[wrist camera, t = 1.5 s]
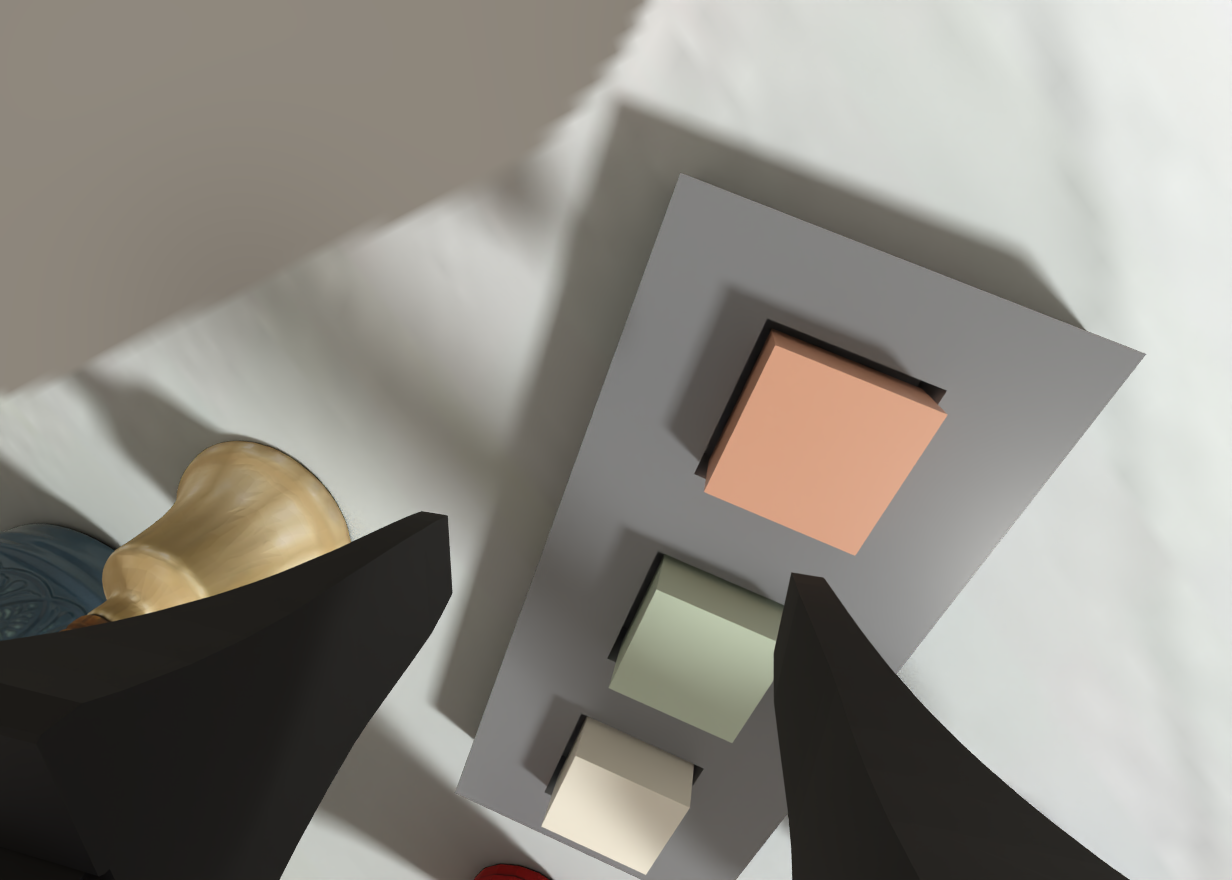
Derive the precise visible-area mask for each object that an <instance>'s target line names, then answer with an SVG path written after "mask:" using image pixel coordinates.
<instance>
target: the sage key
mask: <svg viewBox="0 0 1232 880" xmlns="http://www.w3.org/2000/svg"><path fill="white" fill-rule="evenodd" d="M783 608H784V605H782V604H780V603H778V602H775V601H773V600H771V599H768V598H766V597H764V596H761V595H759V594H757V593H754V592H752V591H750V590H747V589H745V588H743V587H740V586H738V585H736V584H733V583H731V582H729V581H726V580H724V579H722V578H719V577H717V576H715V575H712V574H710V573H708V572H705V571H703V570H701V569H699V568H696V567H694V566H692V565H689V564H687V563H685V562H682V561H680V560H678V559H675V558H673V557H671V556H668V555H666V554H664V555H663V557H662V559H661V561H660V563H659V566H658V568H657V570H656V572H655V574H654V576H653V578H652V580H651V582H650V584H649V587H648V589H647V591H646V593H645V595H644V597H643V599H642V601H641V603H640V605H639V607H638V610H637V612H636V614H635V616H634V618H633V620H632V622H631V624H630V626H629V628H628V631H627V633H626V635H625V637H624V639H623V641H622V643H621V647H620V650H619V654H618V657H617V661H616V664H615V667H614V671H613V674H612V678H611V681H610V685H609V688H610V689H612V690H614V691H616V692H619V693H621V694H623V695H625V696H628V697H630V698H632V699H634V700H636V701H639V702H641V703H643V704H645V705H648V706H650V707H652V708H654V709H657V710H659V711H661V712H663V713H666V714H668V715H670V716H672V717H675V718H677V719H679V720H681V721H684V722H686V723H688V724H690V725H693V726H695V727H697V728H699V729H701V730H704V731H706V732H708V733H710V734H713V735H715V736H717V737H719V738H722V739H724V740H726V741H728V742H731V743H733V741H734V740H735V738H736V737H737V735H738V734H739V732H740V731H741V729H742V728H743V726H744V725H745V723H746V722H747V720H748V718H749V717H750V715H751V714H752V712H753V711H754V709H755V708H756V706H757V705H758V703H759V702H760V700H761V699H762V697H763V696H764V694H765V693H766V691H767V690H768V688H769V686H770V685H771V683H772V682H773V680H774V649H775V644H776V640H777V635H778V631H779V626H780V622H781V617H782V613H783Z"/></svg>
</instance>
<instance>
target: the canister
mask: <svg viewBox="0 0 1232 880" xmlns="http://www.w3.org/2000/svg"><path fill="white" fill-rule="evenodd" d="M114 551H115V550H113V549H112V548H110V547H108V546H107V545H105V544H103V543H101V542H100V541H98V540H96V539H94V538H92V537H90V536H87V535H85V534H83V533H80V532H77V531H75V530H72V529H68V528H65V527H61V526H56V525H50V524H27V525H22V526H18V527H15V528H13V529H10V530H7V531H1V532H0V641H3V640H10V639H16V638H23V637H29V636H36V635H42V634H48V633H55V632H59V631H61V630H63V629H66V628H67V626H68V625H69V624H71V623H72V622H73V621H75V620H76V619H78V618H79V617H81V616H85V615H87V614H88V613H89V612H91V611H92V610H93V609H95V608H97V607H98V606H100V605H101V604H103V603H104V602H106V601H107V599H106V596H105V593H104V589H103V583H102V575H103V569H104V566H105V564H106V562H107V560H108V558H109V557H110V555H111V554H112V553H113V552H114Z"/></svg>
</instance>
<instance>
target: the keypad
mask: <svg viewBox="0 0 1232 880" xmlns="http://www.w3.org/2000/svg"><path fill="white" fill-rule="evenodd" d="M771 329H775V330H777V331H780V332H782V333H785V334H787V335H790V336H792V337H795V338H797V339H799V340H802V341H804V342H807V343H809V344H812V345H814V346H817V347H819V348H822V349H824V350H827V351H829V352H832V353H834V354H837V355H839V356H842V357H844V358H847V359H849V360H852V361H854V362H857V363H859V364H862V365H864V366H867V367H869V368H872V369H874V370H877V371H879V372H882V373H884V374H887V375H889V376H891V377H894V378H896V379H899V380H901V381H904V382H906V383H909V384H911V385H914V386H916V387H919V388H921V389H923V390H924V391H925V392H926V393H927V394H928V395H929V396H930V397H931V398H932V399H933V400H934V401H935V402H936V403H937V404H938V405H939V406H940V407H941V408H942V409H943V410H944V411H945V412H946V413H947V414H948V415H947V417H946V418H945V420H944V421H943V423H942V424H941V426H940V427H939V429H938V430H937V432H936V433H935V435H934V436H933V438H932V440H931V441H930V443H929V444H928V446H927V447H926V449H925V450H924V452H923V453H922V455H921V456H920V458H919V459H918V461H917V462H916V464H915V465H914V467H913V468H912V470H911V472H910V473H909V475H908V476H907V478H906V479H905V481H904V482H903V484H902V485H901V487H900V488H899V490H898V491H897V493H896V494H895V496H894V497H893V499H892V501H891V502H890V504H889V505H888V507H887V508H886V510H885V511H884V513H883V514H882V516H881V517H880V519H879V520H878V522H877V523H876V525H875V526H874V528H873V529H872V531H871V533H870V534H869V536H868V537H867V539H866V540H865V542H864V543H863V545H862V546H861V548H860V549H859V551H858V552H857V554H856V555H855V556H854V555H852V554H850V553H847V552H845V551H842V550H840V549H838V548H835V547H833V546H831V545H828V544H826V543H823V542H821V541H819V540H816V539H814V538H812V537H809V536H807V535H804V534H802V533H800V532H797V531H795V530H793V529H790V528H788V527H785V526H783V525H781V524H778V523H776V522H774V521H771V520H769V519H767V518H764V517H762V516H759V515H757V514H755V513H752V512H750V511H748V510H745V509H743V508H740V507H738V506H736V505H733V504H731V503H729V502H726V501H724V500H721V499H719V498H717V497H714V496H712V495H710V494H707V493H705V492H704V488H705V481H706V475H707V468H708V461H709V459H710V457H711V455H712V452H713V450H714V448H715V446H716V444H717V442H718V440H719V438H720V436H721V434H722V432H723V429H724V427H725V425H726V423H727V421H728V419H729V417H730V415H731V413H732V411H733V408H734V406H735V404H736V402H737V400H738V398H739V396H740V394H741V392H742V390H743V388H744V385H745V383H746V381H747V379H748V377H749V375H750V373H751V371H752V369H753V367H754V364H755V362H756V360H757V358H758V356H759V354H760V352H761V350H762V348H763V346H764V344H765V341H766V339H767V337H768V335H769V333H770V331H771ZM1145 355H1146V354H1145V353H1142V352H1139V351H1137V350H1134V349H1132V348H1129V347H1127V346H1124V345H1122V344H1119V343H1116V342H1114V341H1111V340H1109V339H1106V338H1104V337H1101V336H1098V335H1096V334H1093V333H1091V332H1088V331H1086V330H1083V329H1081V328H1078V327H1075V326H1073V325H1070V324H1068V323H1065V322H1063V321H1060V320H1057V319H1055V318H1052V317H1050V316H1047V315H1045V314H1042V313H1039V312H1037V311H1034V310H1032V309H1029V308H1027V307H1024V306H1022V305H1019V304H1016V303H1014V302H1011V301H1009V300H1006V299H1004V298H1001V297H998V296H996V295H993V294H991V293H988V292H986V291H983V290H980V289H978V288H975V287H973V286H970V285H968V284H965V283H963V282H960V281H957V280H955V279H952V278H950V277H947V276H945V275H942V274H939V273H937V272H934V271H932V270H929V269H927V268H924V267H922V266H919V265H916V264H914V263H911V262H909V261H906V260H904V259H901V258H898V257H896V256H893V255H891V254H888V253H886V252H883V251H880V250H878V249H875V248H873V247H870V246H868V245H865V244H863V243H860V242H857V241H855V240H852V239H850V238H847V237H845V236H842V235H839V234H837V233H834V232H832V231H829V230H827V229H824V228H821V227H819V226H816V225H814V224H811V223H809V222H806V221H804V220H801V219H798V218H796V217H793V216H791V215H788V214H786V213H783V212H780V211H778V210H775V209H773V208H770V207H768V206H765V205H763V204H760V203H757V202H755V201H752V200H750V199H747V198H745V197H742V196H739V195H737V194H734V193H732V192H729V191H727V190H724V189H721V188H719V187H716V186H714V185H711V184H709V183H706V182H704V181H701V180H698V179H696V178H693V177H691V176H688V175H686V174H683V173H680V175H679V178H678V180H677V183H676V186H675V189H674V191H673V194H672V197H671V200H670V202H669V205H668V208H667V211H666V213H665V216H664V219H663V222H662V224H661V227H660V230H659V233H658V235H657V238H656V241H655V244H654V246H653V249H652V252H651V255H650V257H649V260H648V263H647V266H646V268H645V271H644V274H643V277H642V279H641V282H640V285H639V288H638V290H637V293H636V296H635V299H634V301H633V304H632V307H631V310H630V312H629V315H628V318H627V321H626V323H625V326H624V329H623V332H622V334H621V337H620V340H619V343H618V345H617V348H616V351H615V354H614V356H613V359H612V362H611V365H610V367H609V370H608V373H607V376H606V378H605V381H604V384H603V387H602V389H601V392H600V395H599V398H598V400H597V403H596V406H595V409H594V411H593V414H592V417H591V420H590V422H589V425H588V428H587V431H586V433H585V436H584V439H583V442H582V444H581V447H580V450H579V453H578V455H577V458H576V461H575V464H574V466H573V469H572V472H571V475H570V477H569V480H568V483H567V486H566V488H565V491H564V494H563V497H562V499H561V502H560V505H559V508H558V510H557V513H556V516H555V519H554V521H553V524H552V527H551V530H550V532H549V535H548V538H547V541H546V543H545V546H544V549H543V552H542V554H541V557H540V560H539V563H538V565H537V568H536V571H535V574H534V576H533V579H532V582H531V585H530V587H529V590H528V593H527V596H526V598H525V601H524V604H523V607H522V609H521V612H520V615H519V618H518V620H517V623H516V626H515V629H514V631H513V634H512V637H511V640H510V642H509V645H508V648H507V651H506V653H505V656H504V659H503V662H502V664H501V667H500V670H499V673H498V675H497V678H496V681H495V684H494V686H493V689H492V692H491V695H490V697H489V700H488V703H487V706H486V708H485V711H484V714H483V717H482V719H481V722H480V725H479V728H478V730H477V733H476V736H475V739H474V741H473V744H472V747H471V750H470V752H469V755H468V758H467V761H466V763H465V766H464V769H463V772H462V774H461V777H460V780H459V783H458V785H457V788H456V791H455V793H456V794H458V795H460V796H462V797H465V798H467V799H469V800H471V801H473V802H475V803H478V804H480V805H482V806H484V807H486V808H488V809H490V810H493V811H495V812H497V813H499V814H501V815H503V816H506V817H508V818H510V819H512V820H514V821H516V822H518V823H521V824H523V825H525V826H527V827H529V828H531V829H534V830H536V831H538V832H540V833H542V834H544V835H546V836H549V837H551V838H553V839H555V840H557V841H559V842H562V843H564V844H566V845H568V846H570V847H572V848H574V849H577V850H579V851H581V852H583V853H585V854H587V855H589V856H592V857H594V858H596V859H598V860H600V861H602V862H605V863H607V864H609V865H611V866H613V867H615V868H617V869H620V870H622V871H624V872H626V873H628V874H630V875H633V876H635V877H637V878H639V879H641V880H736V879H737V878H738V876H739V875H740V874H741V873H742V871H743V870H744V869H745V867H746V866H747V865H748V864H749V862H750V861H751V860H752V858H753V857H754V856H755V855H756V853H757V852H758V851H759V850H760V848H761V847H762V846H763V844H764V843H765V842H766V841H767V839H768V838H769V837H770V835H771V834H772V833H773V832H774V830H775V829H776V828H777V826H778V825H779V824H780V823H781V821H782V820H783V819H784V817H785V816H786V815H787V814H788V809H787V802H786V794H785V786H784V779H783V771H782V763H781V756H780V748H779V740H778V732H777V724H776V716H775V708H774V680H773V682H772V683H771V685H770V686H769V688H768V690H767V691H766V693H765V694H764V696H763V697H762V699H761V700H760V702H759V703H758V705H757V706H756V708H755V709H754V711H753V712H752V714H751V715H750V717H749V718H748V720H747V722H746V723H745V725H744V726H743V728H742V729H741V731H740V732H739V734H738V735H737V737H736V738H735V740H734V741H733V743H731V742H728V741H726V740H724V739H722V738H719V737H717V736H715V735H713V734H710V733H708V732H706V731H704V730H701V729H699V728H697V727H695V726H693V725H690V724H688V723H686V722H684V721H681V720H679V719H677V718H675V717H672V716H670V715H668V714H666V713H663V712H661V711H659V710H657V709H654V708H652V707H650V706H648V705H645V704H643V703H641V702H639V701H636V700H634V699H632V698H630V697H628V696H625V695H623V694H621V693H619V692H616V691H614V690H612V689H610V688H609V685H610V681H611V678H612V674H613V671H614V667H615V664H616V661H617V657H618V654H619V650H620V647H621V643H622V641H623V639H624V637H625V635H626V633H627V631H628V628H629V626H630V624H631V622H632V620H633V618H634V616H635V614H636V612H637V610H638V607H639V605H640V603H641V601H642V599H643V597H644V595H645V593H646V591H647V589H648V587H649V584H650V582H651V580H652V578H653V576H654V574H655V572H656V570H657V568H658V566H659V563H660V561H661V559H662V557H663V555H664V554H666V555H668V556H671V557H673V558H675V559H678V560H680V561H682V562H685V563H687V564H689V565H692V566H694V567H696V568H699V569H701V570H703V571H705V572H708V573H710V574H712V575H715V576H717V577H719V578H722V579H724V580H726V581H729V582H731V583H733V584H736V585H738V586H740V587H743V588H745V589H747V590H750V591H752V592H754V593H757V594H759V595H761V596H764V597H766V598H768V599H771V600H773V601H775V602H778V603H780V604H782V605H784V603H785V599H786V594H787V590H788V585H789V581H790V576H791V572H793V573H799V574H805V575H811V576H817V577H824V579H825V580H826V581H827V583H828V584H829V585H830V587H831V588H832V590H833V591H834V592H835V594H836V595H837V597H838V598H839V600H840V601H841V602H842V604H843V605H844V607H845V608H846V610H847V611H848V612H849V614H850V615H851V617H852V618H853V619H854V621H855V622H856V624H857V625H858V626H859V628H860V629H861V630H862V632H863V633H864V634H865V636H866V637H867V638H868V640H869V641H870V642H871V644H872V645H873V646H874V647H875V649H876V650H877V651H878V653H879V654H880V655H881V657H882V658H883V659H884V660H885V662H886V663H887V664H888V665H889V667H890V668H891V669H892V670H893V671H894V673H895V674H897V673H898V671H899V670H900V669H901V668H902V666H903V665H904V664H905V662H906V661H907V660H908V659H909V657H910V656H911V655H912V653H913V652H914V651H915V650H916V648H917V647H918V646H919V644H920V643H921V642H922V641H923V639H924V638H925V637H926V635H927V634H928V633H929V632H930V630H931V629H932V628H933V627H934V625H935V624H936V623H937V621H938V620H939V619H940V618H941V616H942V615H943V614H944V612H945V611H946V610H947V609H948V607H949V606H950V605H951V603H952V602H953V601H954V600H955V598H956V597H957V596H958V594H959V593H960V592H961V591H962V589H963V588H964V587H965V586H966V584H967V583H968V582H969V580H970V579H971V578H972V577H973V575H974V574H975V573H976V571H977V570H978V569H979V568H980V566H981V565H982V564H983V562H984V561H985V560H986V559H987V557H988V556H989V555H990V553H991V552H992V551H993V550H994V548H995V547H996V546H997V545H998V543H999V542H1000V541H1001V539H1002V538H1003V537H1004V536H1005V534H1006V533H1007V532H1008V530H1009V529H1010V528H1011V527H1012V525H1013V524H1014V523H1015V521H1016V520H1017V519H1018V518H1019V516H1020V515H1021V514H1022V512H1023V511H1024V510H1025V509H1026V507H1027V506H1028V505H1029V503H1030V502H1031V501H1032V500H1033V498H1034V497H1035V496H1036V495H1037V493H1038V492H1039V491H1040V489H1041V488H1042V487H1043V486H1044V484H1045V483H1046V482H1047V480H1048V479H1049V478H1050V477H1051V475H1052V474H1053V473H1054V471H1055V470H1056V469H1057V468H1058V466H1059V465H1060V464H1061V462H1062V461H1063V460H1064V459H1065V457H1066V456H1067V455H1068V454H1069V452H1070V451H1071V450H1072V448H1073V447H1074V446H1075V445H1076V443H1077V442H1078V441H1079V439H1080V438H1081V437H1082V436H1083V434H1084V433H1085V432H1086V430H1087V429H1088V428H1089V427H1090V425H1091V424H1092V423H1093V421H1094V420H1095V419H1096V418H1097V416H1098V415H1099V414H1100V413H1101V411H1102V410H1103V409H1104V407H1105V406H1106V405H1107V404H1108V402H1109V401H1110V400H1111V398H1112V397H1113V396H1114V395H1115V393H1116V392H1117V391H1118V389H1119V388H1120V387H1121V386H1122V384H1123V383H1124V382H1125V380H1126V379H1127V378H1128V377H1129V375H1130V374H1131V373H1132V371H1133V370H1134V369H1135V368H1136V366H1137V365H1138V364H1139V363H1140V361H1141V360H1142V359H1143V357H1144V356H1145ZM586 716H588V717H590V718H592V719H595V720H597V721H599V722H601V723H604V724H606V725H608V726H610V727H612V728H615V729H617V730H619V731H621V732H623V733H626V734H628V735H630V736H632V737H635V738H637V739H639V740H641V741H643V742H646V743H648V744H650V745H652V746H655V747H657V748H659V749H661V750H663V751H666V752H668V753H670V754H672V755H675V756H677V757H679V758H681V759H683V760H686V761H688V762H690V763H692V764H694V770H693V780H692V791H691V802H690V808H689V810H688V811H687V813H686V814H685V816H684V818H683V819H682V821H681V822H680V824H679V825H678V827H677V828H676V830H675V831H674V833H673V834H672V836H671V837H670V839H669V840H668V842H667V843H666V845H665V846H664V848H663V850H662V851H661V853H660V854H659V856H658V857H657V859H656V860H655V862H654V863H653V865H652V866H651V868H650V869H649V871H648V872H647V874H646V875H645V874H643V873H641V872H638V871H636V870H634V869H632V868H630V867H628V866H625V865H623V864H621V863H619V862H617V861H615V860H613V859H610V858H608V857H606V856H604V855H602V854H600V853H597V852H595V851H593V850H591V849H589V848H587V847H585V846H582V845H580V844H578V843H576V842H574V841H572V840H569V839H567V838H565V837H563V836H561V835H559V834H556V833H554V832H552V831H550V830H548V829H546V828H544V827H541V826H542V823H543V820H544V817H545V814H546V811H547V808H548V805H549V802H550V799H551V796H552V793H553V790H554V787H555V784H556V781H557V778H558V775H559V773H560V771H561V769H562V767H563V765H564V763H565V760H566V758H567V756H568V754H569V752H570V750H571V748H572V746H573V744H574V742H575V739H576V737H577V735H578V733H579V731H580V729H581V727H582V725H583V723H584V721H585V719H586Z"/></svg>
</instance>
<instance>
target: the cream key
mask: <svg viewBox="0 0 1232 880" xmlns="http://www.w3.org/2000/svg"><path fill="white" fill-rule="evenodd" d="M693 770H694V764H692V763H690V762H688V761H686V760H683V759H681V758H679V757H677V756H675V755H672V754H670V753H668V752H666V751H663V750H661V749H659V748H657V747H655V746H652V745H650V744H648V743H646V742H643V741H641V740H639V739H637V738H635V737H632V736H630V735H628V734H626V733H623V732H621V731H619V730H617V729H615V728H612V727H610V726H608V725H606V724H604V723H601V722H599V721H597V720H595V719H592V718H590V717H588V716H586V719H585V721H584V723H583V725H582V727H581V729H580V731H579V733H578V735H577V737H576V739H575V742H574V744H573V746H572V748H571V750H570V752H569V754H568V756H567V758H566V760H565V763H564V765H563V767H562V769H561V771H560V773H559V775H558V778H557V781H556V784H555V787H554V790H553V793H552V796H551V799H550V802H549V805H548V808H547V811H546V814H545V817H544V820H543V823H542V826H541V827H544V828H546V829H548V830H550V831H552V832H554V833H556V834H559V835H561V836H563V837H565V838H567V839H569V840H572V841H574V842H576V843H578V844H580V845H582V846H585V847H587V848H589V849H591V850H593V851H595V852H597V853H600V854H602V855H604V856H606V857H608V858H610V859H613V860H615V861H617V862H619V863H621V864H623V865H625V866H628V867H630V868H632V869H634V870H636V871H638V872H641V873H643V874H645V875H646V874H647V872H648V871H649V869H650V868H651V866H652V865H653V863H654V862H655V860H656V859H657V857H658V856H659V854H660V853H661V851H662V850H663V848H664V846H665V845H666V843H667V842H668V840H669V839H670V837H671V836H672V834H673V833H674V831H675V830H676V828H677V827H678V825H679V824H680V822H681V821H682V819H683V818H684V816H685V814H686V813H687V811H688V810H689V808H690V802H691V791H692V780H693Z"/></svg>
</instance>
